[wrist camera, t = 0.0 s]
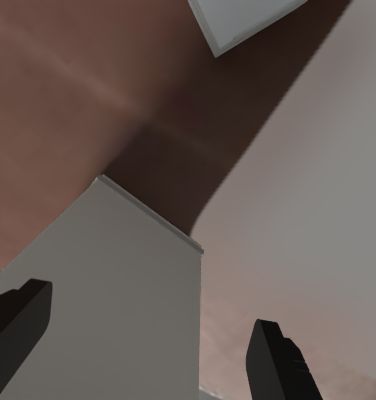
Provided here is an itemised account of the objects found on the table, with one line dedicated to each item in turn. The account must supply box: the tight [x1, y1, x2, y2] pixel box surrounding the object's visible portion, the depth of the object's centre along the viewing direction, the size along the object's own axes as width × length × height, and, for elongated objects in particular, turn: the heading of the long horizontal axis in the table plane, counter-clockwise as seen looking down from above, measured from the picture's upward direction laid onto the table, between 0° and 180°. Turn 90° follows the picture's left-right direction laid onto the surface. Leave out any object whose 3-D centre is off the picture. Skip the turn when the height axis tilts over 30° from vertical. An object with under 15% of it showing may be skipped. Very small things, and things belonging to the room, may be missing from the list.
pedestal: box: [0, 174, 204, 400], centre depth 21 cm, size 14×8×32 cm, turn 51°
